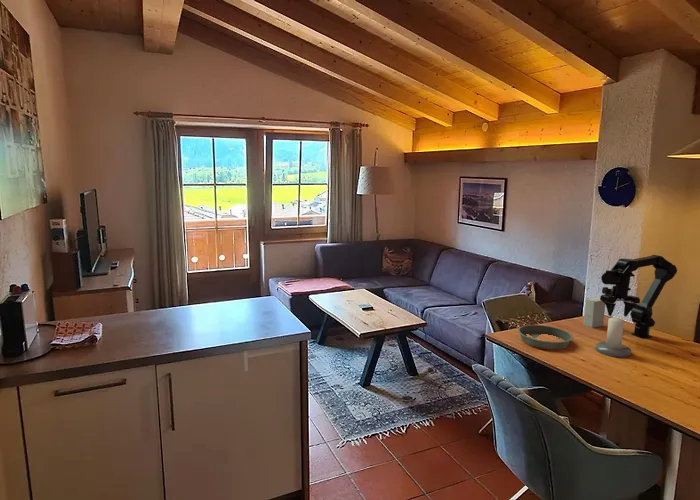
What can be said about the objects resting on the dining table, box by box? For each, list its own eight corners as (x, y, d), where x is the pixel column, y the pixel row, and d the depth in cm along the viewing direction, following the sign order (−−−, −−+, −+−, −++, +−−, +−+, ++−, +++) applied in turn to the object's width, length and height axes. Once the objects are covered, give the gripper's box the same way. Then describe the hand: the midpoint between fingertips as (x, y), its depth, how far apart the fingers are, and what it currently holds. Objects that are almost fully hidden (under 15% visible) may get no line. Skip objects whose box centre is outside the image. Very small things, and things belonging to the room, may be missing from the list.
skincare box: (594, 323, 250) (597, 296, 248) (603, 326, 245) (606, 299, 242) (582, 324, 247) (585, 298, 245) (591, 328, 242) (594, 300, 239)
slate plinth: (611, 344, 219) (611, 340, 218) (638, 355, 206) (638, 351, 205) (588, 348, 214) (589, 343, 214) (614, 359, 201) (615, 354, 201)
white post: (616, 345, 212) (619, 318, 210) (623, 349, 207) (626, 322, 204) (603, 344, 213) (606, 317, 211) (610, 349, 207) (612, 321, 205)
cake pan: (529, 351, 210) (530, 342, 209) (509, 333, 234) (510, 324, 234) (582, 351, 211) (583, 341, 210) (557, 332, 235) (557, 324, 235)
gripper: (624, 282, 233) (619, 311, 235) (593, 281, 228) (589, 311, 230) (643, 286, 222) (638, 318, 224) (611, 285, 217) (606, 317, 219)
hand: (617, 316), depth 225 cm, fingers open, 9 cm apart
